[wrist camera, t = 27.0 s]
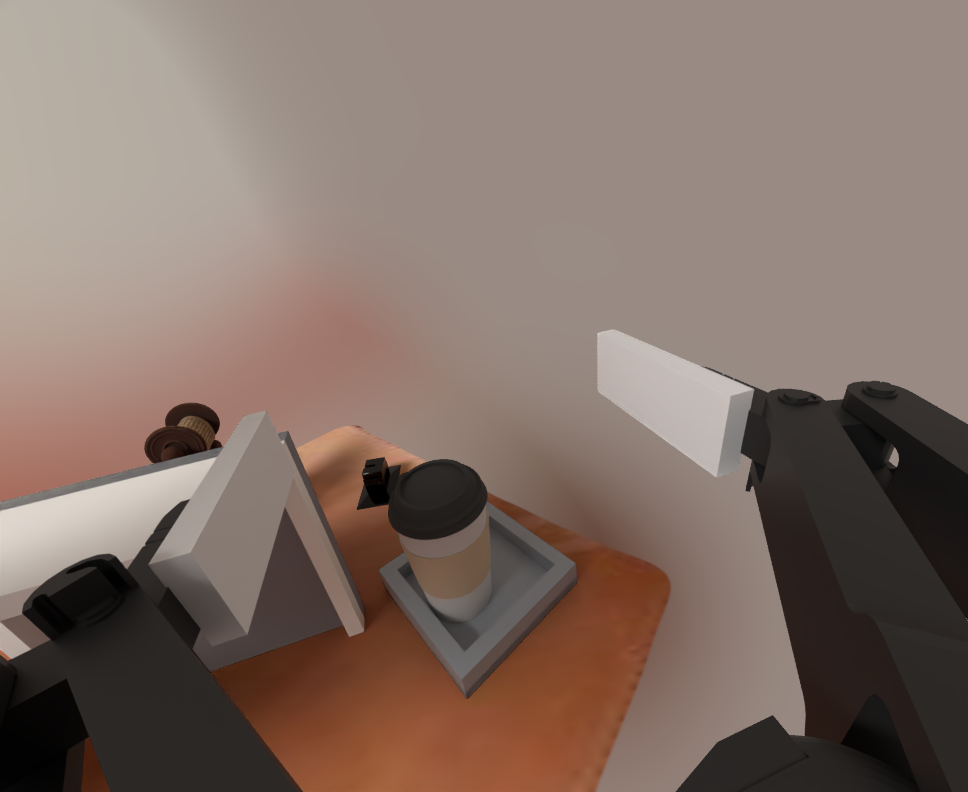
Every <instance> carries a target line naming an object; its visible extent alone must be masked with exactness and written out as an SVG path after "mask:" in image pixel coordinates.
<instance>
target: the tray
mask: <svg viewBox="0 0 968 792" xmlns="http://www.w3.org/2000/svg"><path fill="white" fill-rule="evenodd" d="M486 507H487V510H488V515H489V532H490V549H491V566H490V568H491V582H492V593H491V597H490V600H489V602H488V604H487V606H486V607H485V608H484V610H483V611H482V612H481V613H480V614H478V615H477V616H476V617H474V618H472V619H470V620H468V621H465V622H460V623H451V622H447V621H444V620H442V619H440V618H439V617H438V616H436V615H435V613H434V612H433V611H432V609H431V606H430V604H429V602H428V600H427V598H426V595H425V593H424V591H423V589H422V588H421V586H420V585H419V583H418V580H417V578H416V576H415V574H414V572H413V570H412V567H411V565H410V563H409V561H408V559H407V557H406V555H405V552H403V553H402V554H400V555H399V556H398V557H396V558H395V559H393V560H392V561H391V562H389V563H388V564H386V565H385V566H383V567H382V568H381V569H379V573H380V576H381V578H382V581H383V583H384V586H385V588H386V590H387V591H388V592H389V594H390V595H391V597H392V598H393V599H394V601H395V602H396V603H397V605H398V606H399V607H400V609H401V610H402V611H403V613H404V614H405V615H406V617H407V618H408V620H409V621H410V622H411V624H412V625H413V626H414V628H415V629H416V630H417V632H418V633H419V634H420V636H421V637H422V639H423V640H424V641H425V643H426V644H427V645H428V647H429V648H430V649H431V651H432V652H433V653H434V655H435V656H436V657H437V659H438V660H439V662H440V663H441V664H442V666H443V667H444V668H445V670H446V671H447V672H448V674H449V675H450V676H451V678H452V679H453V681H454V682H455V683H456V685H457V686H458V687H459V689H460V690H461V691H462V693H463V694H464V695H465V697H466V698H467V699H468V698H469V697H470V696H471V695H472V694H473V693H474V692H475V691H476V689H477V688H478V687H479V686H480V685H481V684H482V683H483V682H484V681H485V680H486V679H487V678H488V677H489V676H490V675H491V674H492V672H493V671H494V670H495V669H496V668H497V667H498V666H499V665H500V664H501V663H502V662H503V661H504V660H505V659H506V658H507V657H508V656H509V654H510V653H511V652H512V651H513V650H514V649H515V648H516V647H517V646H518V645H519V644H520V643H521V642H522V641H523V640H524V639H525V637H526V636H527V635H528V634H529V633H530V632H531V631H532V630H533V629H534V628H535V627H536V626H537V625H538V624H539V623H540V622H541V621H542V619H543V618H544V617H545V616H546V615H547V614H548V613H549V612H550V611H551V610H552V609H553V608H554V607H555V606H556V605H557V604H558V603H559V601H560V600H561V599H562V598H563V597H564V596H565V595H566V594H567V593H568V592H569V591H570V590H571V589H572V588H573V587H574V586H575V584H576V583H577V573H576V563H575V562H573V561H572V560H570V559H569V558H568V557H566V556H565V555H563V554H562V553H560V552H559V551H558V550H556V549H555V548H553V547H552V546H550V545H549V544H548V543H546V542H545V541H543V540H542V539H540V538H539V537H538V536H536V535H535V534H533V533H532V532H531V531H529V530H528V529H526V528H525V527H523V526H522V525H521V524H519V523H518V522H516V521H515V520H513V519H512V518H511V517H509V516H508V515H506V514H505V513H503V512H502V511H501V510H499V509H498V508H496V507H495V506H493V505H492V504H491V503H489V502H488V501H487V502H486Z"/></svg>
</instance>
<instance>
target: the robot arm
mask: <svg viewBox="0 0 968 792" xmlns="http://www.w3.org/2000/svg"><path fill="white" fill-rule="evenodd" d="M598 392H599V393H601V394H602V395H603V396H605V397H607V398H608V399H609V400H610V401H612V402H613V403H614V404H616V405H617V406H619V407H620V408H622V409H623V410H624V411H625V412H627V413H628V414H630V415H631V416H632V417H634V418H635V419H637V420H638V421H639V422H641V423H642V424H644V425H645V426H646V427H647V428H649V429H650V430H652V431H653V432H655V433H656V434H657V435H659V436H660V437H661V438H663V439H664V440H665V441H667V442H668V443H670V444H671V445H672V446H674V447H675V448H677V449H678V450H679V451H681V452H682V453H683V454H685V455H686V456H688V457H689V458H690V459H692V460H693V461H694V462H696V463H697V464H699V465H700V466H701V467H703V468H704V469H705V470H707V471H708V472H709V473H711V474H712V475H714V476H715V477H720V476H723V475H726V474H729V473H732V472H735V471H737V470H738V466H739V461H740V457H741V453H742V454H744V455H745V456H747V457H749V458H750V459H752V463H751V467H750V472H749V476H748V481H747V485H746V491H750V489H751V487H752V486H754V490H755V494H756V498H757V503H758V507H759V511H760V515H761V519H762V523H763V528H764V532H765V536H766V540H767V545H768V549H769V553H770V557H771V561H772V566H773V570H774V574H775V578H776V583H777V587H778V591H779V595H780V600H781V603H782V608H783V612H784V616H785V621H786V625H787V629H788V633H789V637H790V642H791V646H792V650H793V654H794V658H795V663H796V667H797V671H798V675H799V679H800V684H801V688H802V692H803V696H804V702H805V711H806V721H805V736H795V735H789V734H788V733H787V732H786V731H785V729H784V728H783V727H782V726H781V725H780V723H779V722H778V721H777V720H776V719H775V717H774V716H770V717H768V718H766V719H764V720H762V721H760V722H758V723H756V724H754V725H752V726H750V727H748V728H746V729H744V730H742V731H740V732H738V733H735V734H734V735H731V736H729V737H727V738H725V739H723V740H721V741H719V742H718V743H717V744H716V745H715V746H714V747H713V748H712V749H711V751H710V752H709V753H708V754H707V755H706V756H705V758H704V759H703V760H702V761H701V762H700V764H699V765H698V766H697V767H696V768H695V769H694V771H693V772H692V773H691V774H690V775H689V777H688V778H687V779H686V780H685V781H684V783H683V784H682V785H681V786H680V787H679V788H678V790H677V791H676V792H968V621H967V620H968V424H966V423H965V422H963V421H961V420H959V419H958V418H956V417H954V416H952V415H950V414H949V413H947V412H945V411H944V410H942V409H940V408H938V407H937V406H935V405H933V404H931V403H930V402H928V401H926V400H924V399H923V398H921V397H919V396H917V395H916V394H914V393H912V392H910V391H908V390H906V389H904V388H901V387H898V386H895V385H891V384H890V383H886V382H880V381H871V382H864V381H862V382H855V383H852V384H849V385H848V386H847V389H846V393H845V396H844V399H842V400H830V401H825V400H824V399H822V398H821V397H820V396H818V395H816V394H813V393H810V392H806V391H802V390H796V389H777V390H772V391H770V392H769V393H767V392H765V391H763V390H760V389H758V388H756V387H753V386H751V385H748V384H746V383H744V382H741V381H739V380H737V379H734V380H733V378H732V377H729V376H727V375H722V373H720V372H718V371H715V370H713V369H710V368H707V367H702V366H699V365H696V364H694V363H692V362H689V361H687V360H684V359H682V358H680V357H678V356H675V355H673V354H671V353H668V352H666V351H664V350H661V349H659V348H656V347H654V346H652V345H650V344H647V343H645V342H643V341H640V340H638V339H635V338H633V337H631V336H628V335H626V334H623V333H621V332H619V331H617V330H614V329H613V330H608V331H604V332H600V333H598ZM894 447H895V448H896V450H897V452H898V454H899V462H898V466H897V467H895V466H894V465H892V463H890V462H889V459H890V456H891V454H892V452H893V449H894ZM294 473H295V471H294V469H293V467H292V464H291V462H290V460H289V458H288V456H287V453H286V451H285V449H284V447H283V445H282V442H281V440H280V438H279V436H278V434H277V432H276V429H275V427H274V425H273V423H272V420H271V419H270V416H269V414H268V412H267V411H262V412H258V413H254V414H250V415H245V416H243V418H242V420H241V421H240V423H239V424H238V426H237V427H236V429H235V430H234V432H233V434H232V435H231V437H230V438H229V440H228V441H227V443H226V444H225V446H224V448H223V449H222V451H221V452H220V454H219V455H218V457H217V458H216V460H215V462H214V463H213V465H212V466H211V468H210V469H209V471H208V472H207V474H206V476H205V477H204V479H203V480H202V482H201V483H200V485H199V486H198V488H197V489H196V491H195V493H194V494H193V496H192V497H191V499H189V500H185V501H181V502H180V503H178V504H177V505H176V506H175V507H174V508H173V509H172V510H170V511H169V512H168V513H167V514H166V515H165V516H164V517H163V518H162V520H161V521H160V522H159V524H158V525H157V527H156V528H155V530H154V533H153V534H151V535H150V537H149V538H148V540H147V541H146V543H145V546H143V547H142V548H141V550H140V551H139V553H138V554H137V555H136V557H135V558H134V560H133V561H132V563H131V564H130V566H129V567H128V568H127V569H126V568H125V566H124V565H123V564H122V563H121V562H120V560H119V559H118V558H117V557H116V556H114V555H112V554H110V553H109V554H99V555H95V556H92V557H89V558H86V559H83V560H81V561H79V562H77V563H75V564H73V565H71V566H69V567H67V568H65V569H63V570H62V571H60V572H59V573H57V574H56V575H54V576H52V577H51V578H49V579H48V580H47V581H45V582H44V583H43V584H42V585H41V586H40V587H38V588H37V589H36V590H35V591H34V592H33V593H32V594H31V595H30V596H29V598H28V599H27V600H26V602H25V603H24V604H23V609H22V614H23V615H24V616H25V617H27V618H28V619H29V620H30V621H31V622H32V623H33V624H34V625H35V626H36V627H37V628H39V629H40V630H41V631H42V632H43V633H44V634H45V635H46V636H47V637H48V638H49V639H51V640H49V641H47V642H45V643H43V644H41V645H39V646H37V647H35V648H33V649H31V650H29V651H27V652H25V653H23V654H21V655H19V656H17V657H15V658H13V659H11V660H9V661H7V660H6V659H5V658H3V657H2V656H1V655H0V792H81V785H82V772H83V760H84V748H85V739H86V738H88V737H90V740H91V742H92V745H93V748H94V750H95V753H96V755H97V758H98V761H99V763H100V766H101V768H102V771H103V774H104V776H105V779H106V781H107V784H108V787H109V789H110V792H303V791H302V790H301V789H300V787H299V786H298V785H297V783H296V782H295V781H294V779H293V778H292V777H291V776H290V774H289V773H288V772H287V770H286V769H285V768H284V767H283V765H282V764H281V763H280V761H279V760H278V759H277V757H276V756H275V755H274V754H273V752H272V751H271V750H270V748H269V747H268V746H267V745H266V743H265V742H264V741H263V739H262V738H261V737H260V735H259V734H258V733H257V732H256V730H255V729H254V728H253V726H252V725H251V724H250V723H249V721H248V720H247V719H246V717H245V716H244V715H243V713H242V712H241V711H240V710H239V708H238V707H237V706H236V704H235V703H234V702H233V700H232V699H231V698H230V697H229V695H228V694H227V693H226V691H225V690H224V689H223V688H222V686H221V685H220V684H219V682H218V681H217V680H216V678H215V677H214V676H213V675H212V673H211V672H210V671H209V669H208V668H207V667H206V666H205V664H204V663H203V662H202V660H201V659H200V658H199V656H198V655H197V654H196V653H195V652H194V650H193V647H194V644H195V642H196V639H197V637H198V635H199V632H201V633H202V635H203V636H204V637H205V638H206V640H207V641H208V642H209V644H210V645H211V646H215V645H218V644H221V643H224V642H227V641H230V640H233V639H236V638H239V637H242V636H245V635H247V634H248V631H249V627H250V624H251V620H252V617H253V614H254V610H255V607H256V603H257V600H258V596H259V593H260V590H261V586H262V583H263V579H264V576H265V572H266V569H267V566H268V562H269V559H270V555H271V552H272V548H273V545H274V542H275V538H276V535H277V531H278V528H279V524H280V521H281V518H282V514H283V511H284V507H285V504H286V501H287V497H288V494H289V490H290V487H291V483H292V480H293V477H294ZM966 618H967V619H966Z"/></svg>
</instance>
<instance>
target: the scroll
mask: <svg viewBox="0 0 968 792" xmlns="http://www.w3.org/2000/svg"><path fill="white" fill-rule="evenodd" d="M165 425H166V427H163V428H160V429H158V430H156V431H154V432H153V433H152V434H151V435H150V436H149V437H148V438H147V440H146V442H145V448H144V449H145V453H146V455H147V457H148V458H149V460H150V461H151V462H152V463H154V464H156V463H160V462H164V461H168V460H172V459H176V458H180V457H184V456H188V455H192V454H196V453H200V452H204V451H208V450H212V449H217V448H221V447H222V445H221V443H220V442H219V441H217V440H214V439H215V434H216V433H217V432H218V430H219V426H220V421H219V418H218V416H217V414H216V413H215V412H214V411H213V410H211V409H210V408H209V407H207V406H205V405H202V404H198V403H185V404H180V405H178V406H176V407H174V408H173V409H171V410H170V411H169V413H168V414H167V416H166V419H165Z"/></svg>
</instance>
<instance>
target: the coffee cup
mask: <svg viewBox="0 0 968 792" xmlns="http://www.w3.org/2000/svg"><path fill="white" fill-rule="evenodd" d="M486 502H487V490H486V487H485V485H484V483H483V482H482V480H481V479H480V477H479V475H478V474H477V473H476V472H475V471H474V470H473V469H471V468H470V467H468V466H466V465H464V464H461V463H459V462H457V461H454V460H448V459H440V460H433V461H429V462H425V463H423V464H421V465H418V466H417V467H415V468H413V469H412V470H410V471H409V472H406V473H403V474H402V475H401V476H400V477H399V479H398V481H397V484H396V487H395V489H394V490H393V492H392V494H391V496H390V500H389V510H388V517H389V521H390V523H391V525H392V527H393V528H394V529H395V530H396V531H397V533H398V539H399V542H400V544H401V546H402V548H403V550H404V552H405V555H406V557H407V559H408V561H409V563H410V565H411V567H412V570H413V572H414V574H415V576H416V578H417V580H418V583H419V585H420V586H421V588H422V589H423V591H424V593H425V595H426V598H427V600H428V602H429V604H430V606H431V609H432V611H433V612H434V613H435V615H436V616H438V617H439V618H440V619H442V620H444V621H447V622H451V623H460V622H465V621H468V620H470V619H472V618H474V617H476V616H477V615H478V614H480V613H481V612H482V611H483V610H484V608H485V607H486V606H487V604H488V602H489V600H490V597H491V593H492V582H491V568H490V566H491V549H490V532H489V515H488V510H487V507H486Z"/></svg>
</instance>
